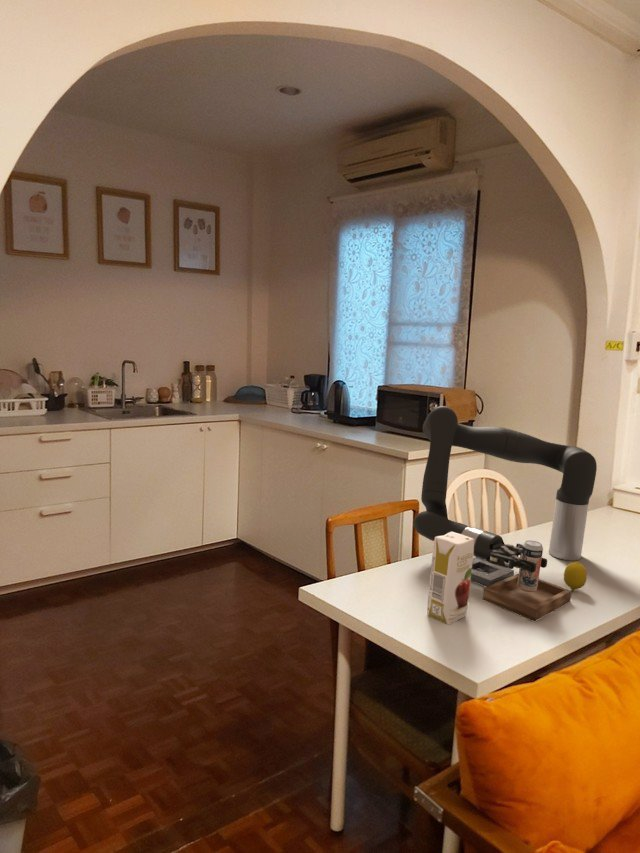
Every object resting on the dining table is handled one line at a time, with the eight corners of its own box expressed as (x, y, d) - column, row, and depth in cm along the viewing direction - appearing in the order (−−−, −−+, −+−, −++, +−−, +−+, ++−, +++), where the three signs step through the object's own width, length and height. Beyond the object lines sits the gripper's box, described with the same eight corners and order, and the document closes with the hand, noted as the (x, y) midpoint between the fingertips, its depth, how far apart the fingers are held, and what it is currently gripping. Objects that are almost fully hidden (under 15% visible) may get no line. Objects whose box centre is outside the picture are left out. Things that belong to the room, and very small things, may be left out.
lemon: (582, 588, 166) (587, 559, 165) (585, 596, 161) (590, 567, 160) (560, 584, 168) (564, 556, 166) (563, 592, 162) (567, 563, 161)
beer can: (517, 591, 154) (523, 544, 152) (516, 583, 158) (522, 538, 156) (537, 594, 152) (544, 548, 150) (535, 586, 157) (542, 541, 155)
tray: (519, 582, 167) (520, 572, 166) (570, 602, 157) (571, 590, 156) (482, 599, 155) (483, 588, 154) (534, 621, 145) (535, 609, 144)
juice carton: (421, 614, 144) (429, 536, 141) (443, 605, 150) (451, 529, 147) (449, 627, 139) (458, 546, 136) (470, 616, 145) (479, 538, 142)
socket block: (475, 563, 179) (476, 556, 179) (513, 577, 170) (514, 570, 170) (451, 572, 171) (451, 565, 170) (489, 587, 162) (490, 580, 162)
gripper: (466, 535, 159) (528, 557, 147) (497, 526, 169) (557, 546, 156) (463, 563, 160) (523, 587, 148) (493, 552, 170) (552, 574, 158)
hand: (540, 566), depth 152 cm, fingers closed on beer can, 4 cm apart
